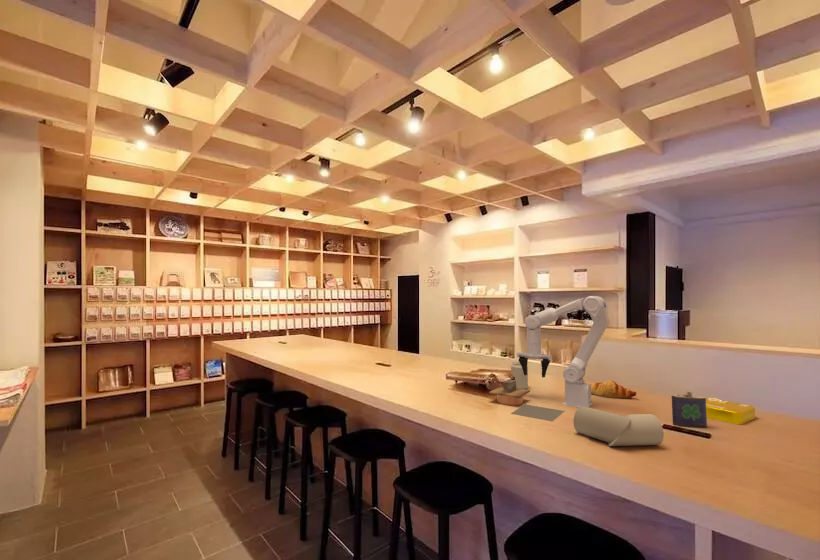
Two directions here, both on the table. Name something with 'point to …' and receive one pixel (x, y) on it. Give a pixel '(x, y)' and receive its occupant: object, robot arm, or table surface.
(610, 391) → the croissant
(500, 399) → the bowl
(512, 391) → the lid
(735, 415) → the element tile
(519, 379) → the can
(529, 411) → the mat
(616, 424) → the bent grey cylinder
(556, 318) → the robot arm
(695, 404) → the flask
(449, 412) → the table surface
